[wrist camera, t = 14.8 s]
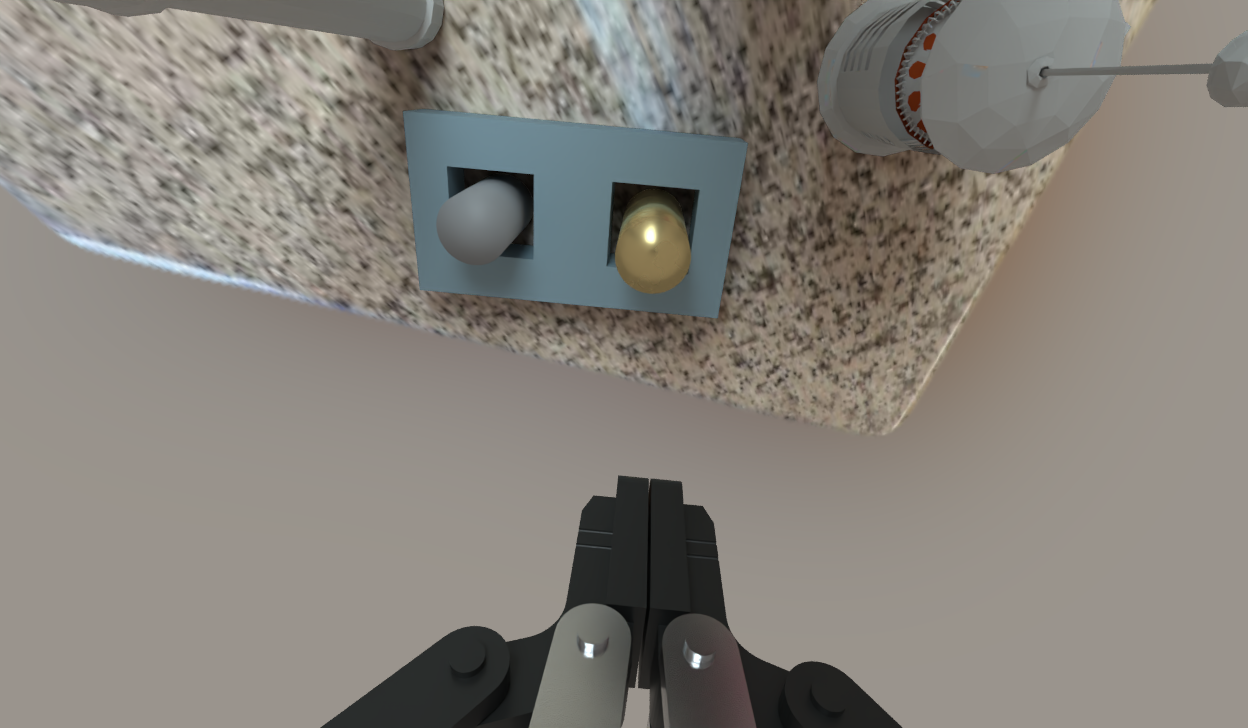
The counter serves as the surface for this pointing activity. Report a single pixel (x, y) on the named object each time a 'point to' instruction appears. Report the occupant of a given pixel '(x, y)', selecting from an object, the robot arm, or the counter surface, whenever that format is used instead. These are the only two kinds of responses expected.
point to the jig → (561, 207)
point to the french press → (986, 77)
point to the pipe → (310, 15)
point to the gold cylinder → (653, 243)
